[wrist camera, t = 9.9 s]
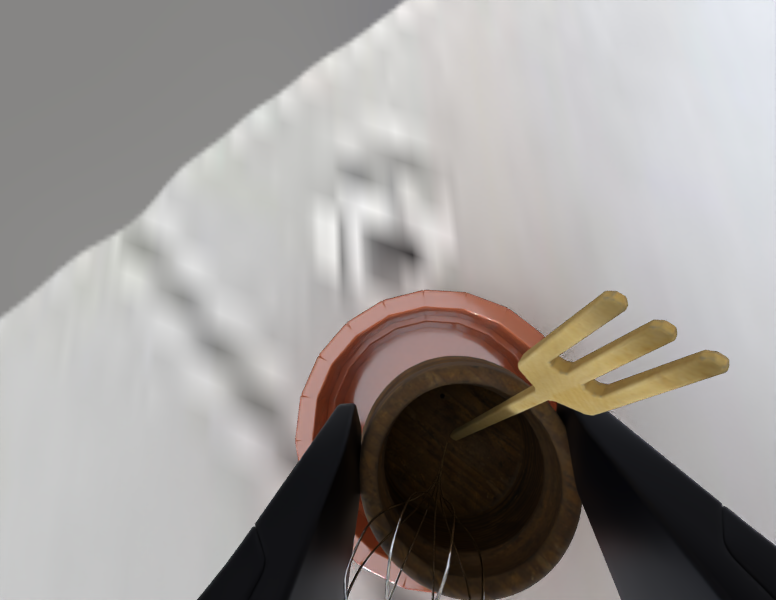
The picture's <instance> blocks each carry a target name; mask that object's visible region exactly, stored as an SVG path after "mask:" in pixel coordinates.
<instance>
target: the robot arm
mask: <svg viewBox="0 0 776 600" xmlns="http://www.w3.org/2000/svg"><path fill="white" fill-rule="evenodd" d="M556 413H557V414H558V415H559V417H560V418H561V420H562V421H563V423H564V425H565V428H566V432H567V437H568V443H569V448H570V454H571V461H572V467H573V472H574V478H575V483H576V487H577V491H578V494H579V497H580V499H581V502H582V504H583V507H584V509H585V512H586V514H587V517H588V519H589V521H590V524H591V526H592V529H593V531H594V534H595V536H596V539H597V541H598V544H599V546H600V548H601V551H602V553H603V556H604V558H605V561H606V563H607V566H608V568H609V571H610V573H611V575H612V578H613V580H614V583H615V585H616V588H617V590H618V593H619V595H620V598H621V600H776V546H775V545H774V544H773V543H771V542H770V541H769V540H768V539H766V538H765V537H764V536H762V535H761V534H760V533H759V532H757V531H756V530H755V529H753V528H752V527H751V526H750V525H748V524H747V523H746V522H744V521H743V520H742V519H741V518H740V517H738V516H737V515H736V514H735V513H733V512H732V511H731V510H730V509H728V508H727V507H725V506H723V507H722V503H721V502H719V501H718V500H717V499H716V498H715V497H713V496H712V495H711V494H710V493H708V492H707V491H706V490H705V489H703V488H702V487H701V486H700V485H698V484H697V483H696V482H695V481H694V480H692V479H691V478H690V477H689V476H687V475H686V474H685V473H684V472H682V471H681V470H680V469H679V468H677V467H676V466H675V465H674V464H672V463H671V462H670V461H669V460H668V459H666V458H665V457H664V456H663V455H661V454H660V453H659V452H658V451H656V450H655V449H654V448H653V447H651V446H650V445H649V444H648V443H647V442H645V441H644V440H643V439H642V438H640V437H639V436H638V435H637V434H635V433H634V432H633V431H632V430H630V429H629V428H628V427H627V426H625V425H624V424H623V423H622V422H621V421H619V420H618V419H617V418H616V417H614V416H613V415H612V414H611V413H609V412H608V411H606V412H603V413H600V414H596V415H587V414H583V413H581V412H579V411H576V410H574V409H572V408H569V407H567V406H565V405H562V404H560V403H558V402H557V409H556ZM361 441H362V431H361V423H360V419H359V415H358V411H357V407H356V405H355V404H354V403H346V404H339V405H338V406H337V407H336V409H335V410H334V412H333V413H332V414H331V416H330V417H329V419H328V420H327V422H326V423H325V424H324V426H323V427H322V429H321V430H320V432H319V433H318V434H317V436H316V437H315V439H314V440H313V442H312V443H311V444H310V446H309V447H308V449H307V450H306V452H305V453H304V454H303V456H302V457H301V459H300V460H299V462H298V463H297V464H296V466H295V467H294V469H293V470H292V472H291V473H290V474H289V476H288V477H287V479H286V480H285V482H284V483H283V484H282V486H281V487H280V489H279V490H278V492H277V493H276V494H275V496H274V497H273V499H272V500H271V502H270V503H269V504H268V506H267V507H266V509H265V510H264V512H263V513H262V514H261V516H260V517H259V519H258V520H257V522H256V523H255V526H256V527H252V528H251V530H250V531H249V533H248V534H247V536H246V537H245V539H244V540H243V541H242V543H241V544H240V546H239V547H238V548H237V550H236V551H235V552H234V554H233V555H232V556H231V558H230V559H229V560H228V562H227V563H226V565H225V566H224V567H223V568H222V570H221V571H220V572H219V573H218V575H217V576H216V577H215V578H214V580H213V581H212V582H211V583H210V585H209V586H208V587H207V588H206V590H205V591H204V592H203V593H202V594H201V596H200V597H199V598H198V599H197V600H344V589H343V584H344V575H345V571H346V568H347V565H348V562H349V560H350V557H351V555H352V552H353V545H354V537H355V530H356V523H357V516H358V508H359V500H360V478H359V463H360V453H361ZM350 567H351V565H350ZM349 574H350V568H349V571H348V575H347V584H346V587H347V588H348V581H349Z"/></svg>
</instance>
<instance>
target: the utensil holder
mask: <svg viewBox="0 0 776 600" xmlns="http://www.w3.org/2000/svg"><path fill="white" fill-rule="evenodd" d="M627 306H628V302H627V298H626V297H625V296H624V295H622V294H621V293H619V292H617V291H605V292H603V293H602V294H601V295H600V296H598V297H597V298H596V299H594V300H593V301H592V302H590V303H589V304H588V305H586V306H585V307H584V308H583V309H581V310H580V311H579V312H577V313H576V314H575V315H573V316H572V317H571V318H570V319H568V320H567V321H566V322H564V323H563V324H562V325H560V326H559V327H558V328H556V329H555V330H554V331H553V332H551V333H550V334H549V335H547V336H546V337H545V338H543V339H542V340H541V341H539V342H538V343H537V344H536V345H534V346H533V347H532V348H530V349H529V350H528V351H527V352H525V353H524V354H523V356H522V357H521V359H520V361H519V362H518V368H519V370H520V371H521V372H522V374H523V375H524V376H525V377H526V378H527V379H528V380H529V381H530V383H531V384H532V386H530V385H528V384H527V383H526V382H525V381H523V380H522V379H521V378H520V377H518V376H517V375H516V374H514V373H512V372H511V371H509V370H508V369H506V368H504V367H502V366H500V365H497V364H495V363H493V362H490V361H487V360H484V359H480V358H475V357H470V356H443V357H437V358H433V359H429V360H426V361H423V362H421V363H418V364H416V365H414V366H412V367H410V368H408V369H407V370H405V371H404V372H402V373H401V374H399V375H398V376H397V377H396V378H395V379H393V380H392V381H391V382H390V383H389V384H388V385H387V386H386V387H385V388H384V390H383V391H382V392H381V393H380V395H379V396H378V398H377V399H376V401H375V402H374V404H373V406H372V408H371V410H370V412H369V414H368V416H367V419H366V421H365V425H364V428H363V432H362V441H361V453H360V463H359V478H360V494H361V500H362V505H363V509H364V512H365V515H366V518H367V521H368V524H367V526H366V527H365V529H364V530H363V532H362V534H361V536H360V538H359V540H358V542H357V544H356V546H355V548H354V551H353V553H352V555H351V557H350V560H349V562H348V565H347V568H346V571H345V575H344V584H343V589H344V600H348V596H349V593H350V591H351V589H352V586H353V584H354V582H355V580H356V578H357V576H358V574H359V573H360V571H361V569H362V567H363V566H364V564H365V563H366V562H367V560H368V559H369V558H370V556H371V555H372V554H373V553H374V552H375V550H376V549H377V548H378V547H379V546H381V548H382V549H383V550H384V552H385V553H386V554H387V556H388V565H387V575H386V588H385V600H391V597H392V595H393V592H394V590H395V587H396V585H397V582H398V580H399V577H400V575H401V573H402V571H403V572H404V573H405V574H406V575H407V576H409V577H410V578H411V579H413V580H414V581H416V582H417V583H419V584H420V585H422V586H424V587H426V588H427V589H429V590H432V600H434V592H436V593H438V594H437V596H436V599H435V600H439V598H440V596H441V595H444V596H447V597H451V598H455V599H461V600H495V599H500V598H505V597H508V596H511V595H514V594H516V593H519V592H521V591H523V590H525V589H527V588H529V587H531V586H532V585H534V584H535V583H537V582H538V581H539V580H541V579H542V578H543V577H545V576H546V575H547V574H548V573H549V572H550V571H551V570H552V569H553V568H554V567H555V565H556V564H557V563H558V562H559V561H560V559H561V558H562V556H563V555H564V554H565V552H566V550H567V549H568V547H569V545H570V543H571V541H572V539H573V536H574V534H575V531H576V529H577V525H578V522H579V518H580V513H581V507H582V502H581V499H580V497H579V494H578V491H577V487H576V483H575V478H574V472H573V467H572V461H571V454H570V448H569V443H568V437H567V432H566V428H565V425H564V423H563V421H562V420H561V418H560V417H559V415H558V414H557V413H556V411H555V410H554V409H553V408H552V406H551V405H550V404H549V403H548V402H547V400H550V401H555V402H558V403H560V404H562V405H565V406H567V407H569V408H572V409H574V410H576V411H579V412H581V413H583V414H587V415H596V414H600V413H603V412H606V411H609V410H612V409H615V408H619V407H622V406H625V405H628V404H631V403H634V402H637V401H640V400H643V399H646V398H649V397H652V396H655V395H658V394H661V393H664V392H667V391H670V390H674V389H677V388H680V387H683V386H686V385H689V384H692V383H695V382H698V381H701V380H704V379H707V378H710V377H713V376H716V375H719V374H722V373H725V372H727V371H728V368H729V359H728V358H727V357H726V356H724V355H722V354H721V353H719V352H717V351H709V350H703V351H700V352H698V353H695V354H692V355H689V356H686V357H684V358H681V359H678V360H675V361H673V362H670V363H667V364H664V365H661V366H659V367H656V368H653V369H650V370H647V371H645V372H642V373H639V374H636V375H634V376H631V377H628V378H625V379H622V380H620V381H617V382H614V383H611V384H603V383H600V382H598V381H596V380H595V378H597V377H599V376H602V375H604V374H606V373H608V372H610V371H612V370H614V369H616V368H618V367H620V366H622V365H624V364H626V363H629V362H631V361H633V360H635V359H637V358H639V357H641V356H643V355H645V354H647V353H649V352H651V351H654V350H656V349H658V348H660V347H662V346H664V345H666V344H668V343H670V342H672V341H674V340H675V339H676V337H677V329H676V327H675V326H674V325H672V324H671V323H669V322H667V321H665V320H652V321H650V322H648V323H647V324H645V325H643V326H641V327H639V328H637V329H635V330H633V331H632V332H630V333H628V334H626V335H624V336H622V337H620V338H618V339H617V340H615V341H613V342H611V343H609V344H607V345H605V346H603V347H601V348H600V349H598V350H596V351H594V352H592V353H590V354H588V355H586V356H585V357H583V358H581V359H579V360H577V361H575V362H570V361H566V360H564V359H562V358H561V357H559V355H560V354H562V353H563V352H565V351H566V350H568V349H569V348H571V347H572V346H574V345H575V344H577V343H578V342H580V341H581V340H582V339H584V338H585V337H587V336H588V335H590V334H591V333H593V332H594V331H596V330H597V329H599V328H600V327H602V326H603V325H604V324H606V323H607V322H609V321H610V320H612V319H613V318H615V317H616V316H618V315H619V314H621V313H622V312H624V311H625V310H626V308H627ZM369 526H370V528H371V530H372V532H373V534H374V536H375V538H376V540H377V541H378V543H379V544H378V545H377V546H376V547H375V548H374V549H373V550H372V551H371V553H370V554H369V555H368V556H367V557H366V559H365V560H364V562H363V563H362V564H361V566H360V568H359V569H358V571H357V573H356V574H355V576H354V578H353V580H352V582H351V584H350V587H349V589H348V591H347V587H346V584H347V575H348V571H349V568H350V565H351V562H352V560H353V557H354V555H355V553H356V551H357V548H358V546H359V544H360V542H361V540H362V537H363V535H364V534H365V532H366V530H367V529H368V527H369ZM391 560H392V562H393V563H394V564H395V565H396V566H397V567H398V568H399V569H400V572H399V574H398V576H397V579H396V581H395V584H394V586H393V588H392V591H391V594H390V596H389V577H390V566H391ZM388 597H389V599H388Z"/></svg>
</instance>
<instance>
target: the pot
mask: <svg viewBox="0 0 776 600" xmlns="http://www.w3.org/2000/svg"><path fill="white" fill-rule="evenodd" d="M543 338H545V337H544V335H543V334H541V333H540V332H539V331H538V330H536V329H535V328H534V327H532V326H531V325H530V324H529V323H527V322H526V321H525V320H523V319H522V318H521V317H519V316H518V315H517V314H516V313H514V312H513V311H512V310H510V309H508V308H507V307H504V306H502V305H499V304H496V303H494V302H491V301H488V300H486V299H483V298H480V297H478V296H475V295H472V294H470V293H466V292H453V291H436V290H424V291H423V290H421V291H417V292H413V293H409V294H405V295H401V296H397V297H394V298H390V299H386V300H383V301H381V302H379V303H377V304H376V305H374V306H372V307H371V308H369V309H368V310H366V311H364V312H363V313H361V314H360V315H358V316H356V317H355V318H353V319H351V320H350V321H348V322H347V323H346V324H345V325H344V326H343V327H342V328H341V330H340V331H339V332H338V333H337V334H336V335H335V337H334V338H333V339H332V340H331V341H330V342H329V343H328V345H327V346H326V347H325V348H324V349H323V350H322V352H321V353H320V356H318V357H317V360H316V362H315V364H314V367H313V369H312V371H311V373H310V376H309V378H308V380H307V383H306V385H305V387H304V389H303V392H302V396H301V397H300V405H299V413H298V421H297V430H296V438H295V440H296V441H295V444H296V449H297V455H298V461H299V460H300V459H301V457H302V456H303V454H304V453H305V452H306V450H307V449H308V447H309V446H310V444H311V443H312V442H313V440H314V439H315V437H316V436H317V434H318V433H319V432H320V430H321V429H322V427H323V426H324V424H325V423H326V422H327V420H328V419H329V417H330V416H331V414H332V413H333V412H334V410H335V409H336V407H337V406H338V405H339V404H346V403H354V404H355V405H356V407H357V411H358V415H359V419H360V423H361V431H362V432H363V428H364V425H365V421H366V419H367V416H368V414H369V412H370V410H371V408H372V406H373V404H374V402H375V401H376V399H377V398H378V396H379V395H380V393H381V392H382V391H383V390H384V388H385V387H386V386H387V385H388V384H389V383H390V382H391V381H392V380H393V379H395V378H396V377H397V376H398V375H399V374H401V373H402V372H404V371H405V370H407V369H408V368H410V367H412V366H414V365H416V364H418V363H421V362H423V361H426V360H429V359H433V358H437V357H443V356H470V357H475V358H480V359H484V360H487V361H490V362H493V363H495V364H497V365H500V366H502V367H504V368H506V369H508V370H509V371H511V372H512V373H514V374H516V375H517V376H518V377H520V378H521V379H522V380H523V381H525V382H526V383H527V384H528V385H530V386H532V384H531V383H530V381H529V380H528V379H527V378H526V377H525V376H524V375H523V374H522V372H521V371H520V370H519V368H518V362H519V361H520V359H521V357H522V356H523V354H524V353H525V352H527V351H528V350H529V349H530V348H532V347H533V346H534V345H536V344H537V343H538V342H539V341H541V340H542V339H543ZM547 402H548V403H549V404H550V405H551V406H552V408H553V409H554V410H555V411H556V409H557V402H555V401H550V400H547ZM367 524H368V521H367V518H366V515H365V512H364V509H363V505H362V500H361V494H360V500H359V508H358V516H357V523H356V530H355V537H354V545H353V551H354V548H355V546H356V544H357V542H358V540H359V538H360V536H361V534H362V532H363V530H364V529H365V527H366V526H367ZM378 544H379V543H378V541H377V540H376V538H375V536H374V534H373V532H372V530H371V528H370V526H369V527H368V529H367V530H366V532H365V534H364V535H363V537H362V540H361V542H360V544H359V546H358V548H357V551H356V553H355V555H354V557H353V560H354V561H355V562H356V563H357V564H358V565H361V564H362V563H363V562H364V560H365V559H366V557H367V556H368V555H369V554H370V553H371V551H372V550H373V549H374V548H375V547H376V546H377V545H378ZM352 553H353V552H352ZM387 565H388V556H387V554H386V553H385V552H384V550H383V549H382V548H381V546H379V547H378V548H377V549H376V550H375V552H374V553H373V554H372V555H371V556H370V558H369V559H368V560H367V562H366V563H365V564H364V566H363V568H365V569H367V570H369V571H371V572H373V573H375V574H377V575H379V576H381V577H382V578H384V579H386V575H387ZM399 572H400V569H399V568H398V567H397V566H396V565H395V564H394V563H393V562H392V560H391V566H390V577H389V581H390V582H392V583H394V584H395V581H396V579H397V576H398V574H399ZM397 585H398V586H400V587H402V588H403V587H404V588H405V589H410V590H417V591H424V592H431V593H432V590H429V589H427V588H426V587H424V586H422V585H420V584H419V583H417V582H416V581H414V580H413V579H411V578H410V577H409V576H407V575H406V574H405V573H404V572H403V571H402V573H401V575H400V577H399V580H398V582H397ZM434 593H436V592H434Z"/></svg>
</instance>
